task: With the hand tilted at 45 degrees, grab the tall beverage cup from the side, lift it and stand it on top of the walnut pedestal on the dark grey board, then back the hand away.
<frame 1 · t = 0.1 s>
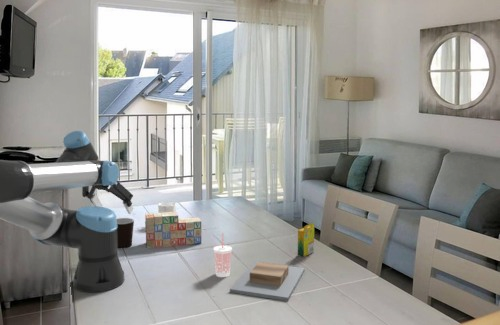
hand: (115, 209, 173), 15 cm above the table, tool tilted 35°, fingers open, 13 cm apart
base board: (269, 280, 146), on the table
crayon box: (305, 254, 172), on the table
beverage cup: (222, 275, 151), on the table
white cup: (167, 226, 206), on the table
walnut pedestal: (269, 280, 146), resting on base board
coffee mug: (125, 245, 180), on the table
stack of blocks: (173, 244, 182), on the table
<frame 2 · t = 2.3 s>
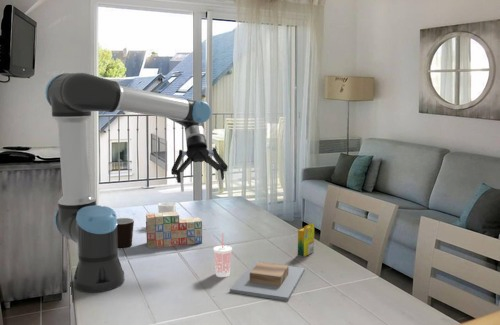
hand: (202, 188, 162), 26 cm above the table, tool tilted 45°, fingers open, 13 cm apart
nothing on the table moved.
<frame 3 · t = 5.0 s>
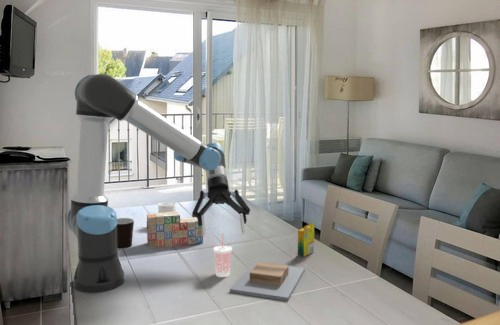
hand: (223, 233, 156), 12 cm above the table, tool tilted 45°, fingers open, 13 cm apart
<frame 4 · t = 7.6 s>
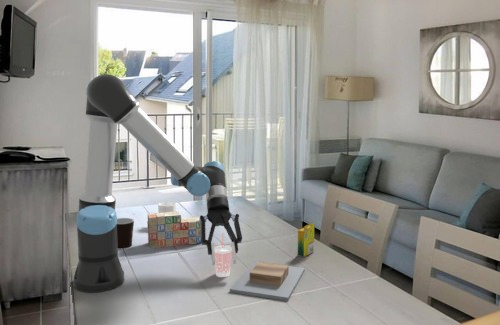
hand: (224, 262, 147), 5 cm above the table, tool tilted 45°, fingers closed on beverage cup, 6 cm apart
beverage cup: (222, 274, 151), on the table, touching gripper
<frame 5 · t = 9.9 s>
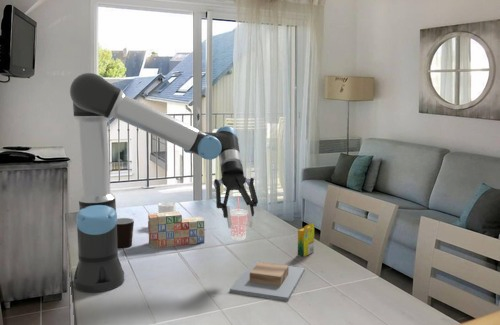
hand: (240, 225, 145), 18 cm above the table, tool tilted 45°, fingers closed on beverage cup, 6 cm apart
beverage cup: (238, 238, 149), point 12 cm above the table, touching gripper
when the fingers open (11 cm above the table, at t = 12.5 s): beverage cup drops 1 cm, resting on walnut pedestal.
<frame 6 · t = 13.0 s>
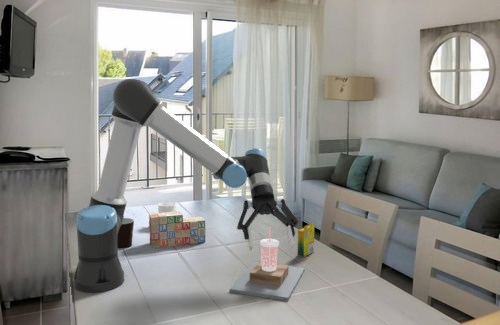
hand: (271, 247, 142), 12 cm above the table, tool tilted 45°, fingers open, 12 cm apart
beverage cup: (268, 269, 146), point 4 cm above the table, touching walnut pedestal
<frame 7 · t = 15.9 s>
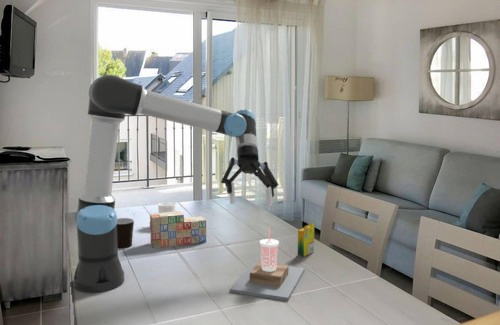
hand: (251, 204, 154), 22 cm above the table, tool tilted 35°, fingers open, 13 cm apart
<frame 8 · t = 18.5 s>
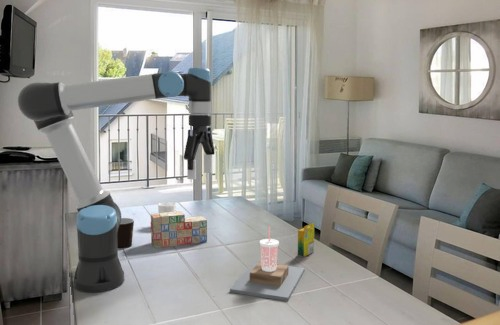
hand: (200, 175, 159), 31 cm above the table, tool pointing down, fingers open, 13 cm apart
at the end: beverage cup inside the target area on the walnut pedestal (0.2 cm from its centre), point 3.8 cm above the walnut pedestal's base; beverage cup tilted 0°; the gripper is holding nothing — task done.
